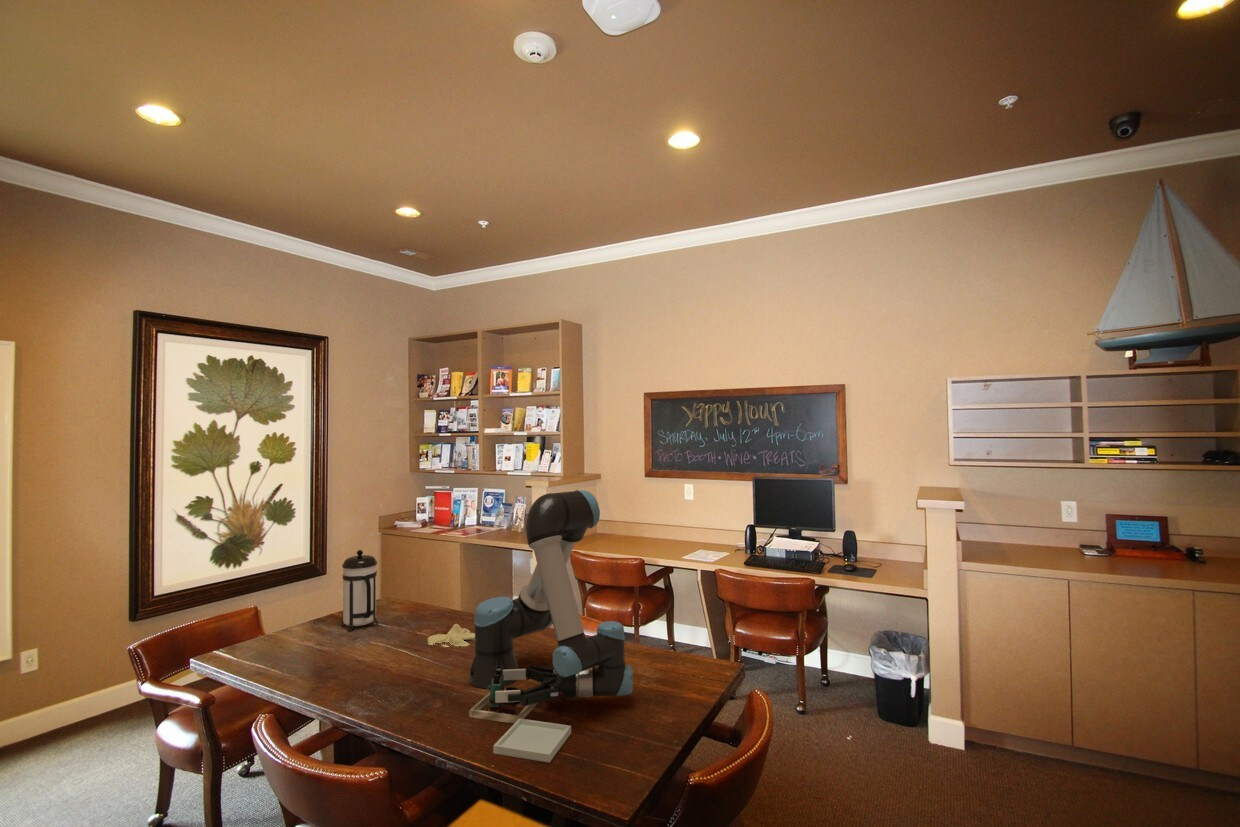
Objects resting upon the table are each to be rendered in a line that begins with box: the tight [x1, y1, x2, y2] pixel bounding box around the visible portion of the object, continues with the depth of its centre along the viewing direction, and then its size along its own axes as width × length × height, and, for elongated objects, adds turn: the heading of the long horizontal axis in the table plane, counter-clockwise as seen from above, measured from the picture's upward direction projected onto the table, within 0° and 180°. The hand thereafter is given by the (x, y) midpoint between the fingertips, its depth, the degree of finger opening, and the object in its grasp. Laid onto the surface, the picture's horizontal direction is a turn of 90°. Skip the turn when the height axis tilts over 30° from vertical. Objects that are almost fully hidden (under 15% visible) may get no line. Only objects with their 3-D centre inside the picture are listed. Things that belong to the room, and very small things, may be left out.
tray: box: [493, 718, 572, 763], centre depth 139 cm, size 14×13×2 cm
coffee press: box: [340, 549, 379, 632], centre depth 228 cm, size 17×16×30 cm
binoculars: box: [487, 666, 522, 715], centre depth 157 cm, size 9×11×10 cm
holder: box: [468, 689, 539, 725], centre depth 157 cm, size 15×14×2 cm
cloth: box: [427, 623, 475, 648], centre depth 211 cm, size 22×19×6 cm
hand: (499, 685), depth 157 cm, fingers open, 13 cm apart
